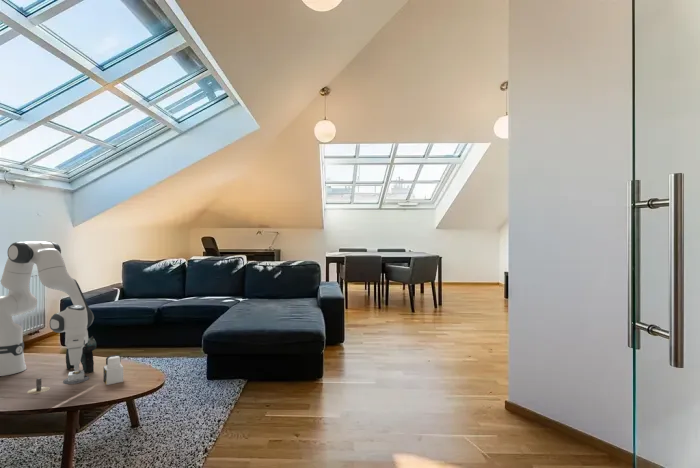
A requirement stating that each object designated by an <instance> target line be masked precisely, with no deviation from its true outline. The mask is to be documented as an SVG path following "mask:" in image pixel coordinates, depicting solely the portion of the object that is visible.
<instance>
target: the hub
mask: <svg viewBox="0 0 700 468" xmlns="http://www.w3.org/2000/svg"><path fill="white" fill-rule="evenodd" d="M75 374H76V373H75ZM89 379H90V377H89V375H86V374H84V380H78V381H72V382H68V377H67V378H65V379H63V381H62V383H63V384H65V385H74V384H79V383H83V382H86V381H88V380H89Z"/></svg>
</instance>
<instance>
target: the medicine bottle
mask: <svg viewBox="0 0 700 468" xmlns="http://www.w3.org/2000/svg"><path fill="white" fill-rule="evenodd" d="M103 382H104V385H106V386H109V385H114V384H119V383H123V382H124V366H123V364H122V356H121V355H118V354H114V355H113V354H112V355H109V356H107V357H106V358H105V365H104V366H103Z"/></svg>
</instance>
